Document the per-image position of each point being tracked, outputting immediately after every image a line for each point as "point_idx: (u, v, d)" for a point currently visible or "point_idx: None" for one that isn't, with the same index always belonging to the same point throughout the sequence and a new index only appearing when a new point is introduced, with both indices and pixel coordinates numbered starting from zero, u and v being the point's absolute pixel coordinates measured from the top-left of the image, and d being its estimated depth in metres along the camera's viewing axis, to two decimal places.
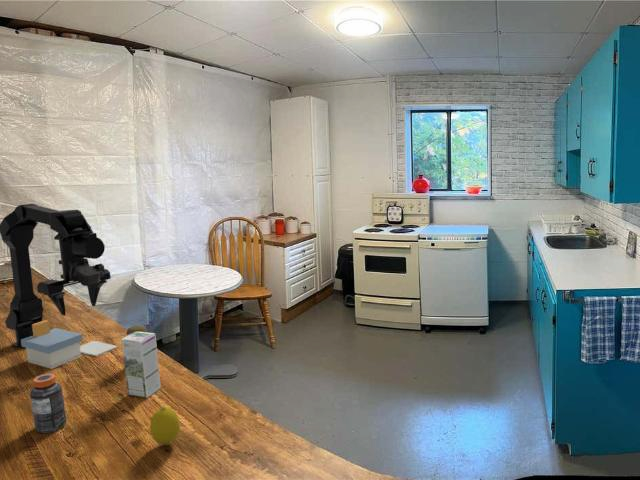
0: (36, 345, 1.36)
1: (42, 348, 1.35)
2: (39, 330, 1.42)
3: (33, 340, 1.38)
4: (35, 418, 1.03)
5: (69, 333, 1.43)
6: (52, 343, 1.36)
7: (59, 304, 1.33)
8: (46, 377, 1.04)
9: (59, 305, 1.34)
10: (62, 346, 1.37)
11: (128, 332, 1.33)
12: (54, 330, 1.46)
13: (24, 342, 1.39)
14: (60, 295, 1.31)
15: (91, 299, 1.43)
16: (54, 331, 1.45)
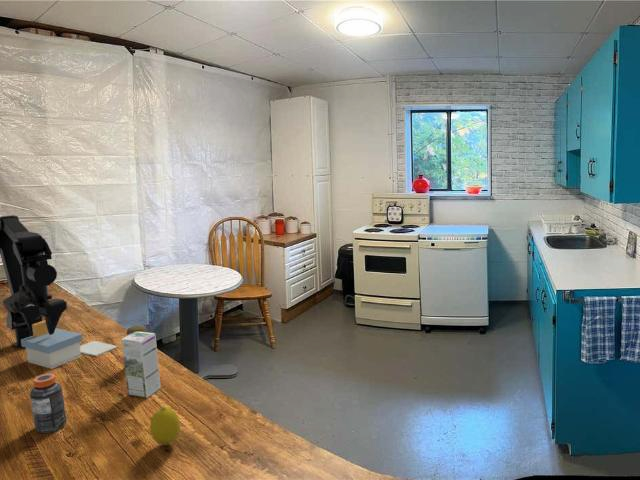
0: (36, 345, 1.36)
1: (42, 348, 1.35)
2: (39, 330, 1.42)
3: (33, 340, 1.38)
4: (35, 418, 1.03)
5: (69, 333, 1.43)
6: (52, 343, 1.36)
7: None
8: (46, 377, 1.04)
9: None
10: (62, 346, 1.37)
11: (128, 332, 1.33)
12: None
13: (24, 342, 1.39)
14: None
15: None
16: (54, 331, 1.45)
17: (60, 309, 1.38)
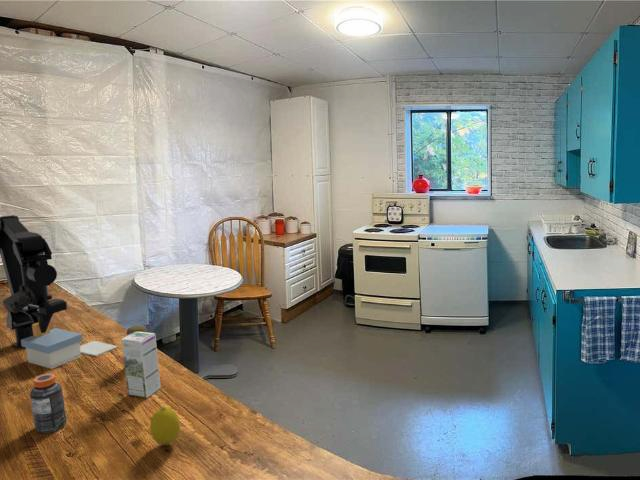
0: (36, 345, 1.36)
1: (42, 348, 1.35)
2: (39, 330, 1.42)
3: (33, 340, 1.38)
4: (35, 418, 1.03)
5: (69, 333, 1.43)
6: (52, 343, 1.36)
7: None
8: (46, 377, 1.04)
9: None
10: (62, 346, 1.37)
11: (128, 332, 1.33)
12: (54, 330, 1.46)
13: (24, 342, 1.39)
14: (24, 312, 1.41)
15: None
16: (54, 331, 1.45)
17: (60, 309, 1.38)
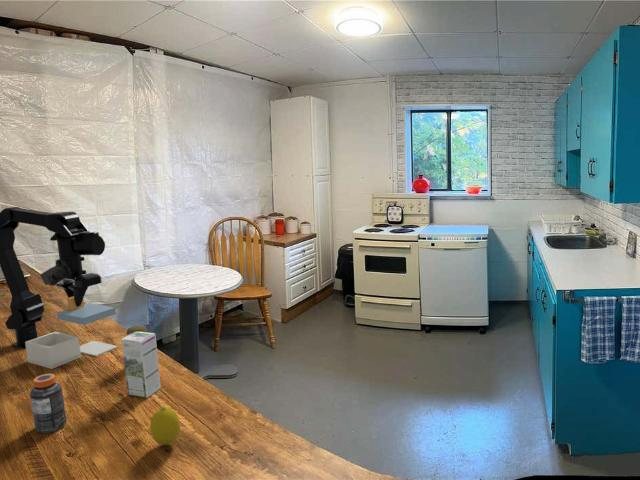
0: (72, 317, 1.41)
1: (78, 320, 1.40)
2: (74, 303, 1.47)
3: (69, 313, 1.44)
4: (35, 418, 1.03)
5: (103, 307, 1.48)
6: (87, 315, 1.41)
7: None
8: (46, 377, 1.04)
9: None
10: (97, 318, 1.42)
11: (128, 332, 1.33)
12: (88, 304, 1.51)
13: (60, 315, 1.44)
14: (60, 286, 1.46)
15: None
16: (88, 305, 1.50)
17: (95, 283, 1.43)
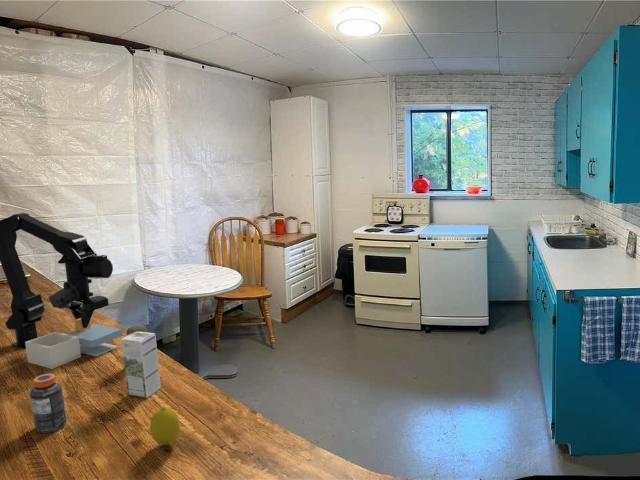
0: (80, 339, 1.43)
1: (86, 342, 1.42)
2: (81, 325, 1.49)
3: (76, 335, 1.46)
4: (35, 418, 1.03)
5: (109, 328, 1.51)
6: (95, 337, 1.43)
7: None
8: (46, 377, 1.04)
9: None
10: (104, 340, 1.45)
11: (128, 332, 1.33)
12: (94, 325, 1.54)
13: None
14: (67, 308, 1.48)
15: None
16: (94, 327, 1.53)
17: (102, 305, 1.45)
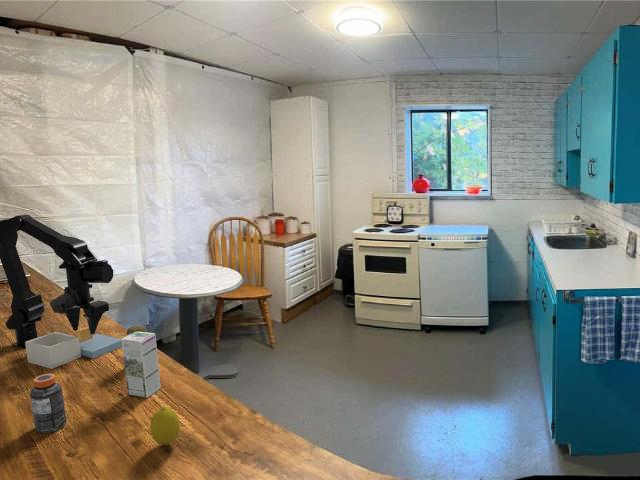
0: (81, 350, 1.44)
1: (87, 353, 1.43)
2: (83, 335, 1.50)
3: None
4: (35, 418, 1.03)
5: (111, 338, 1.51)
6: (96, 348, 1.44)
7: None
8: (46, 377, 1.04)
9: None
10: (105, 351, 1.45)
11: (128, 332, 1.33)
12: (96, 335, 1.54)
13: None
14: None
15: None
16: (96, 337, 1.53)
17: (103, 310, 1.45)
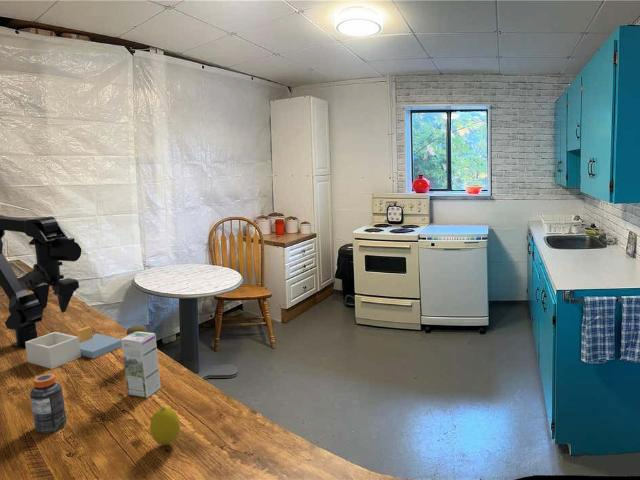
0: (81, 350, 1.44)
1: (87, 353, 1.43)
2: (83, 335, 1.50)
3: None
4: (35, 418, 1.03)
5: (111, 338, 1.51)
6: (96, 348, 1.44)
7: None
8: (46, 377, 1.04)
9: None
10: (105, 351, 1.45)
11: (128, 332, 1.33)
12: (96, 335, 1.54)
13: None
14: (30, 289, 1.49)
15: None
16: (96, 337, 1.53)
17: (72, 288, 1.44)
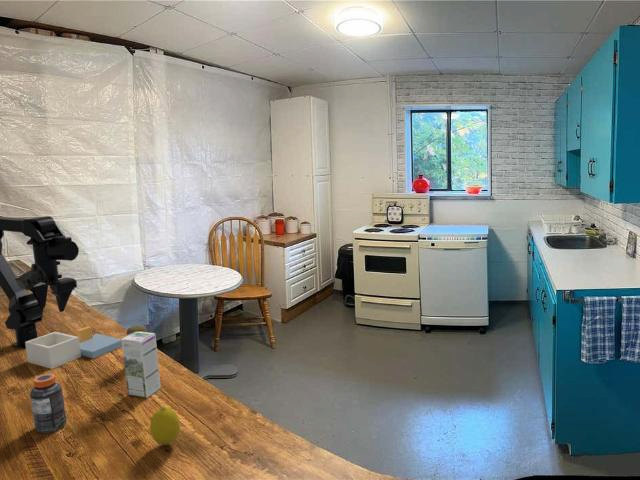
0: (81, 350, 1.44)
1: (87, 353, 1.43)
2: (83, 335, 1.50)
3: None
4: (35, 418, 1.03)
5: (111, 338, 1.51)
6: (96, 348, 1.44)
7: None
8: (46, 377, 1.04)
9: None
10: (105, 351, 1.45)
11: (128, 332, 1.33)
12: (96, 335, 1.54)
13: None
14: None
15: None
16: (96, 337, 1.53)
17: (70, 287, 1.44)
